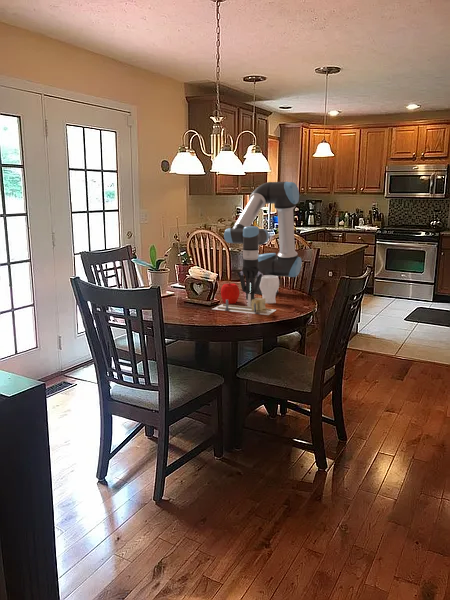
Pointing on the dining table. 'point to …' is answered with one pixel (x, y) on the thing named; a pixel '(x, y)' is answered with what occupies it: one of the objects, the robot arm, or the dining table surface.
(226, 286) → the apple
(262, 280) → the cup
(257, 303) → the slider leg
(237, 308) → the board
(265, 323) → the dining table surface
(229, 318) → the dining table surface
